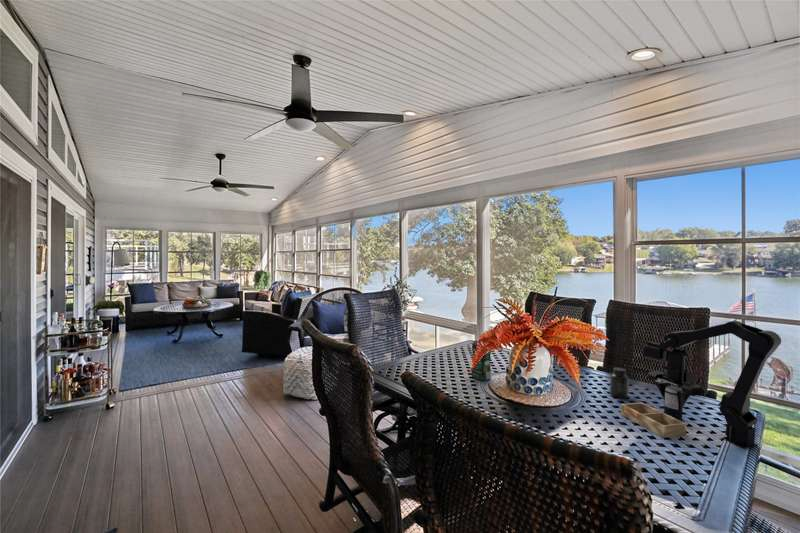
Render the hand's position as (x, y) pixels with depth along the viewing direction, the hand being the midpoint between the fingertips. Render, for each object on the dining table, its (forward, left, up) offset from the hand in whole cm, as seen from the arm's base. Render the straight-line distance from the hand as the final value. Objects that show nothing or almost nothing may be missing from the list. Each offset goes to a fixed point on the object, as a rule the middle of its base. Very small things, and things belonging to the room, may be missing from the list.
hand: (673, 404), depth 140 cm
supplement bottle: (+23, +3, -6) cm, 24 cm away
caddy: (-2, +12, -6) cm, 13 cm away
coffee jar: (+56, +54, -6) cm, 78 cm away
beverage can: (0, 0, -6) cm, 6 cm away
